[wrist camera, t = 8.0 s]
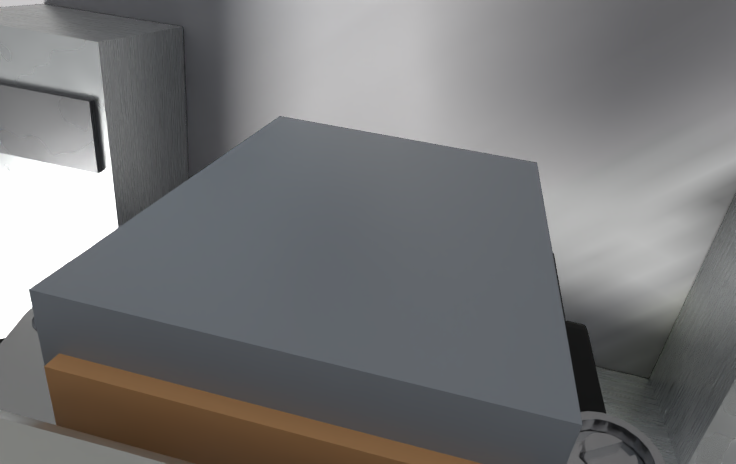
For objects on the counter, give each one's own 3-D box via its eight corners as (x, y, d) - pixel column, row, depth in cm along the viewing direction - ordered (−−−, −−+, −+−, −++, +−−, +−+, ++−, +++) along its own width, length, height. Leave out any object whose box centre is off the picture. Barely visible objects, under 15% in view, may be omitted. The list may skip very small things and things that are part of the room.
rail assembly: (1006, 161, 14) (1190, 233, 10) (790, 470, 19) (858, 592, 15) (29, 1, 18) (-96, 10, 14) (74, 290, 23) (-8, 352, 19)
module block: (536, 162, 10) (586, 445, 4) (470, 401, 13) (444, 772, 7) (279, 115, 11) (11, 301, 5) (270, 352, 14) (91, 651, 8)
